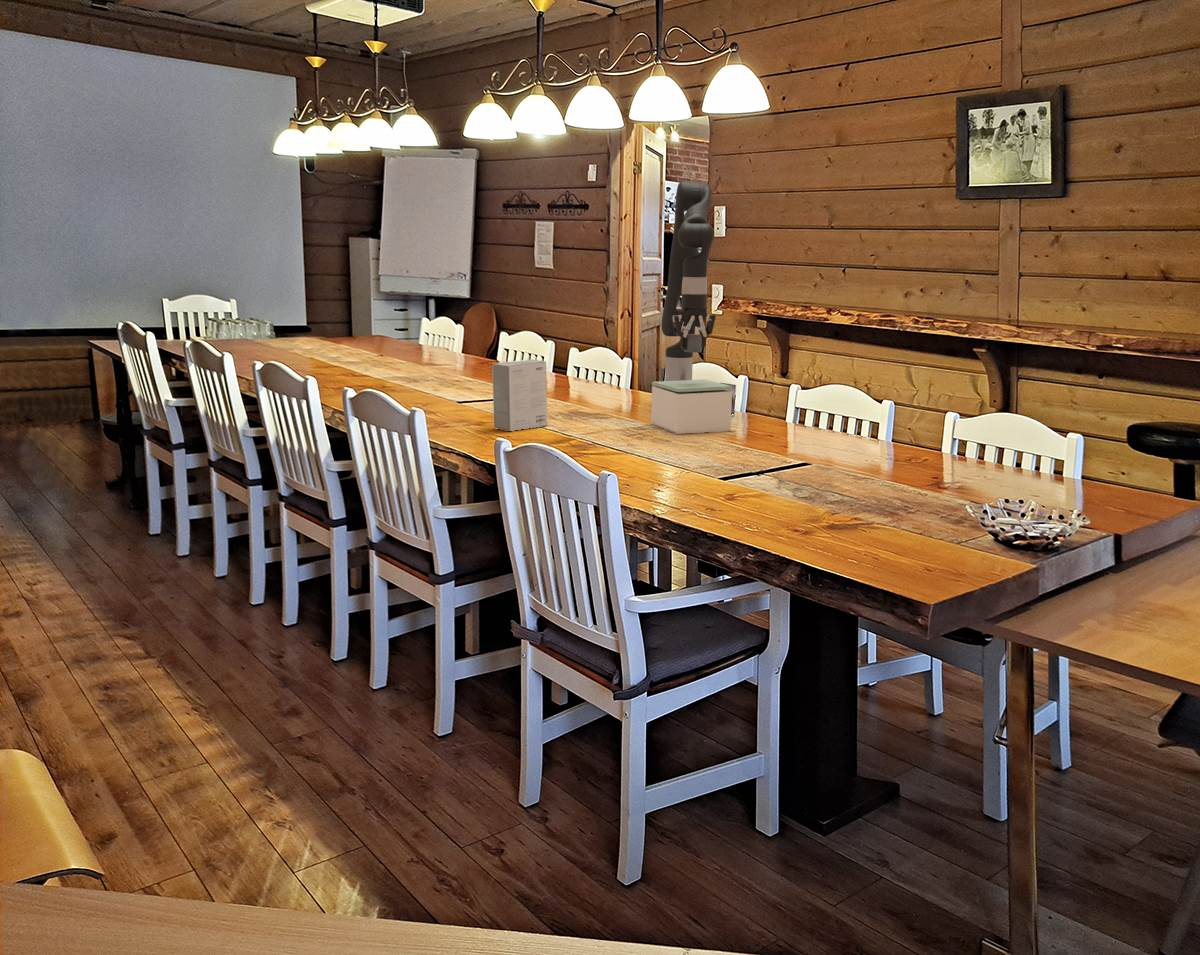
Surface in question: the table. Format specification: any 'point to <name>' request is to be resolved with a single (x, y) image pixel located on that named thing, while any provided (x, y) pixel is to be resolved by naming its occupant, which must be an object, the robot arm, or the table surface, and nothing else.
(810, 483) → the table surface
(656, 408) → the storage box
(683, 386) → the lid
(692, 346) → the dark grey cylinder
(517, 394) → the hard drive box
